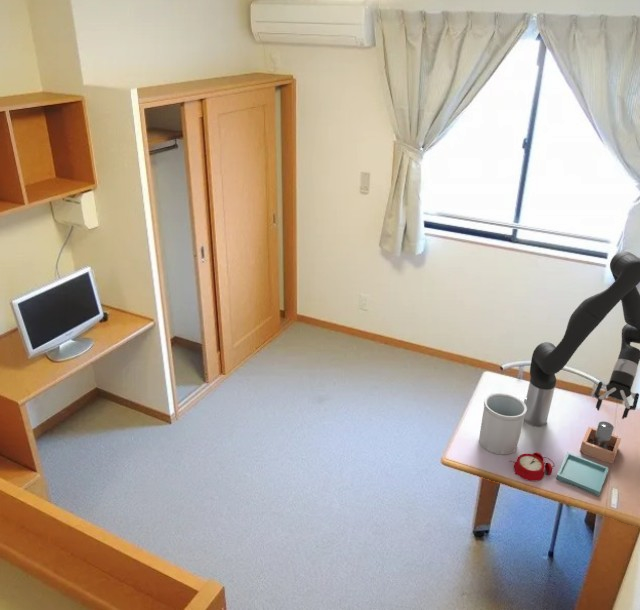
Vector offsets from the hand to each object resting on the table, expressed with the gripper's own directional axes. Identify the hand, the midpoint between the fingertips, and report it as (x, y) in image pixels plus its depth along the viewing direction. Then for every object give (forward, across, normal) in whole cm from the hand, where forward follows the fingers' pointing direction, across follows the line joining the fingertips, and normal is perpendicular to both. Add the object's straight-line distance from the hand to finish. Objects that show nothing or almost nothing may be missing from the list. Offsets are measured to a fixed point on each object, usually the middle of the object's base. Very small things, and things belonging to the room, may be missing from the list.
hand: (610, 414), depth 215 cm
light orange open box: (+13, 0, +6) cm, 14 cm away
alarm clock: (+31, -17, -12) cm, 37 cm away
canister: (+13, 0, +6) cm, 14 cm away
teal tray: (+26, -2, -7) cm, 27 cm away
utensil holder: (+26, -32, -7) cm, 42 cm away
